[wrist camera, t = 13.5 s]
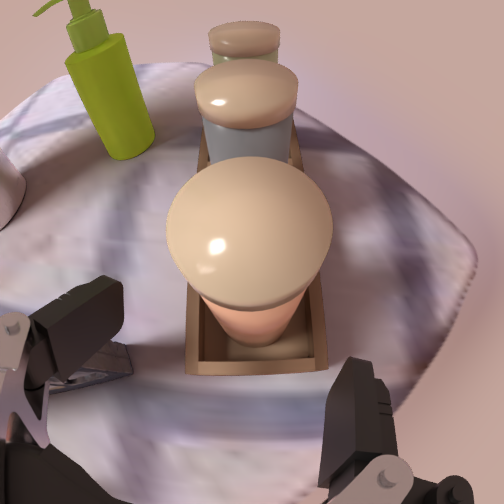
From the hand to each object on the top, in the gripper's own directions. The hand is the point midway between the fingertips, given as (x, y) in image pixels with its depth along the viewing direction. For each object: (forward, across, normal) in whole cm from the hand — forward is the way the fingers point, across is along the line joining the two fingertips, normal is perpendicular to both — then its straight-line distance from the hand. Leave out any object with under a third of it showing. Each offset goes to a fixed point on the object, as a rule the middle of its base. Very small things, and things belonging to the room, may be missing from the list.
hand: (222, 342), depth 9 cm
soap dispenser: (+20, +20, -4) cm, 29 cm away
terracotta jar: (+9, 0, +4) cm, 10 cm away
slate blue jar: (+14, +3, -1) cm, 14 cm away
